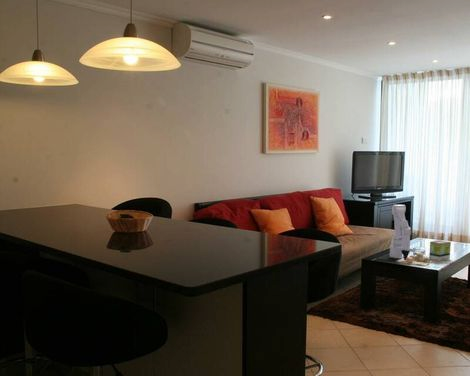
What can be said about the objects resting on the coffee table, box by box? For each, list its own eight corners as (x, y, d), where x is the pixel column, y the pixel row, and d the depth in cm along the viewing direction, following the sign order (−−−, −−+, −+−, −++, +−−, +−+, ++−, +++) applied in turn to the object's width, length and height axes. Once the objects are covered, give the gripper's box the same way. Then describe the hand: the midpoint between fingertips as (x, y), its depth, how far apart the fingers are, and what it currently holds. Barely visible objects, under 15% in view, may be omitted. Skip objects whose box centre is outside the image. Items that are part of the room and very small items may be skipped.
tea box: (440, 261, 379) (440, 243, 378) (428, 259, 387) (429, 241, 386) (450, 259, 388) (451, 241, 387) (438, 256, 396) (439, 239, 395)
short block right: (423, 262, 374) (423, 257, 374) (424, 261, 377) (425, 257, 377) (428, 263, 371) (428, 258, 371) (429, 262, 374) (430, 257, 374)
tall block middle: (416, 261, 378) (416, 253, 377) (418, 260, 381) (418, 252, 380) (421, 262, 375) (421, 254, 375) (423, 261, 378) (423, 253, 378)
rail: (397, 261, 376) (397, 260, 376) (401, 260, 382) (401, 259, 382) (425, 266, 361) (425, 265, 361) (428, 264, 367) (428, 263, 367)
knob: (405, 261, 372) (405, 257, 372) (408, 260, 375) (408, 257, 375) (410, 262, 369) (410, 258, 369) (413, 261, 373) (413, 257, 372)
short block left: (409, 260, 381) (409, 255, 381) (411, 259, 384) (411, 255, 384) (414, 261, 379) (414, 256, 379) (416, 260, 382) (416, 255, 381)
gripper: (394, 242, 375) (394, 259, 376) (413, 244, 366) (412, 262, 367) (398, 241, 381) (398, 257, 382) (416, 243, 371) (416, 260, 372)
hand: (405, 259), depth 374 cm, fingers closed
